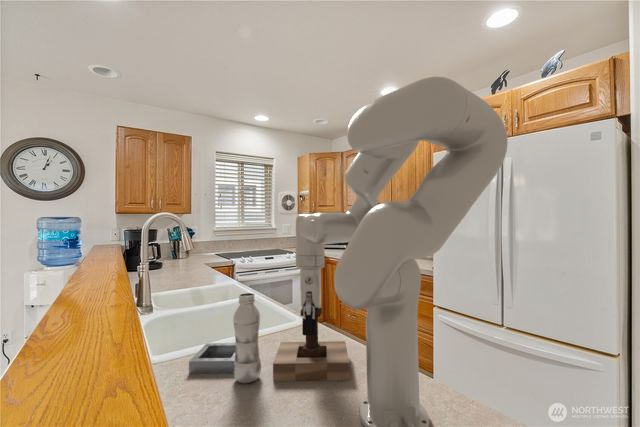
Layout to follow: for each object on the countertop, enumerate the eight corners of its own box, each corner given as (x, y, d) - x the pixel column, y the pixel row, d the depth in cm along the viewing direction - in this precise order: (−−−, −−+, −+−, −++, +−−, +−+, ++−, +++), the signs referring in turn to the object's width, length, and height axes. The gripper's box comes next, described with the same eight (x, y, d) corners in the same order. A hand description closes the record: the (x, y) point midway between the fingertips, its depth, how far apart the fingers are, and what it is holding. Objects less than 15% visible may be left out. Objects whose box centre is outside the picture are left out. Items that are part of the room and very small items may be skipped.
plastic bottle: (243, 391, 62) (242, 299, 63) (227, 379, 66) (227, 295, 67) (267, 378, 67) (266, 294, 67) (251, 369, 71) (250, 290, 72)
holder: (234, 373, 69) (234, 360, 69) (189, 373, 69) (189, 361, 70) (246, 353, 80) (246, 342, 80) (206, 354, 80) (206, 343, 80)
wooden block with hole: (349, 380, 65) (349, 362, 66) (273, 381, 66) (273, 363, 66) (345, 355, 77) (345, 341, 77) (280, 356, 78) (280, 342, 78)
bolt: (319, 374, 68) (318, 312, 69) (299, 372, 69) (298, 311, 70) (324, 362, 74) (323, 305, 74) (305, 361, 75) (304, 304, 75)
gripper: (324, 266, 64) (324, 341, 64) (324, 256, 81) (324, 315, 81) (292, 266, 64) (291, 341, 64) (298, 256, 81) (298, 315, 81)
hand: (310, 327), depth 72 cm, fingers open, 9 cm apart
